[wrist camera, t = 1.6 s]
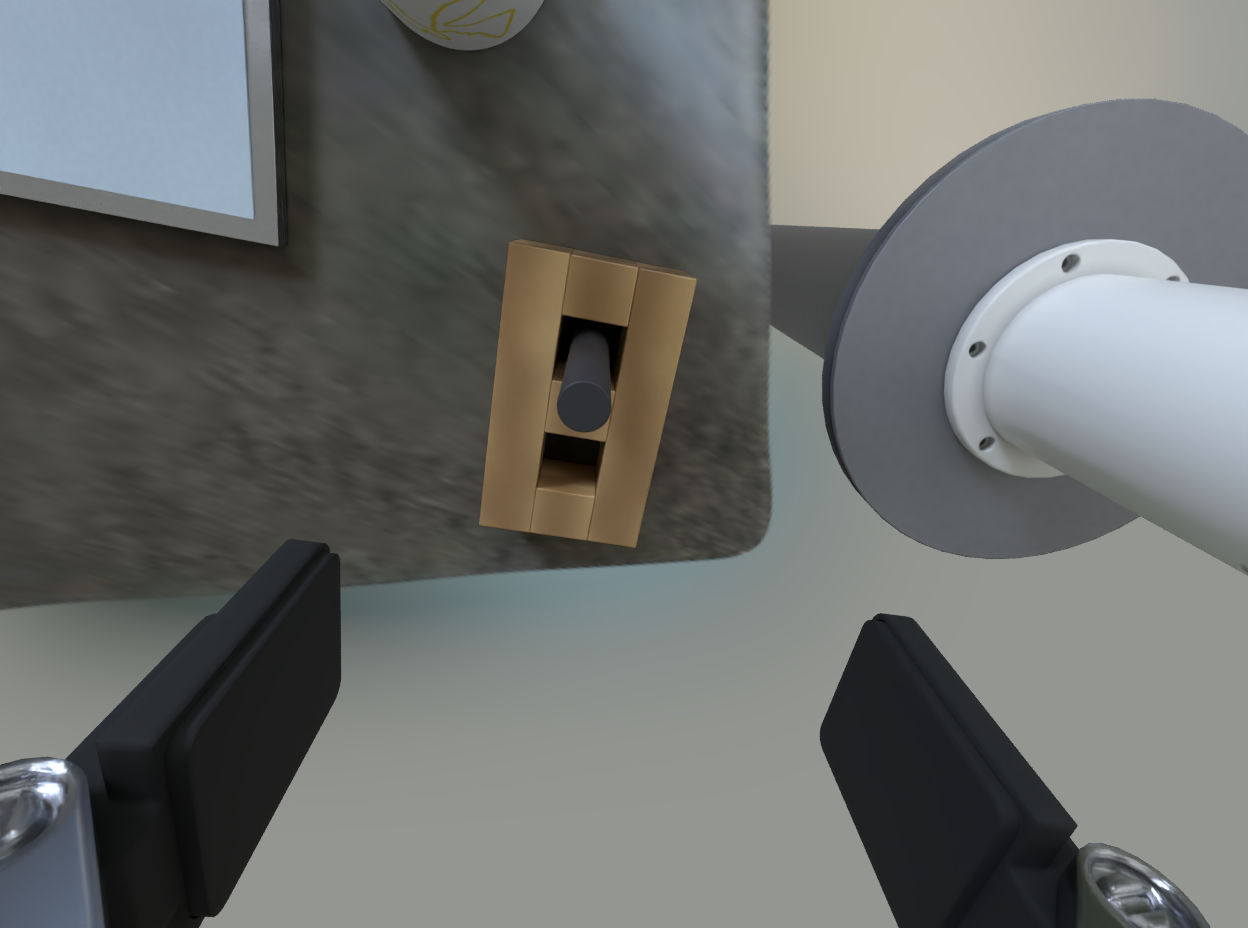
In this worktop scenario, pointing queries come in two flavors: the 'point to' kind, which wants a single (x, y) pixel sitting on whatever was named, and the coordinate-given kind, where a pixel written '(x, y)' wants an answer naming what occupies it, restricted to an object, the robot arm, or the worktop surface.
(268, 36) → the tablet
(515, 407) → the holder
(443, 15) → the cup
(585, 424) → the stylus
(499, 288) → the worktop surface
